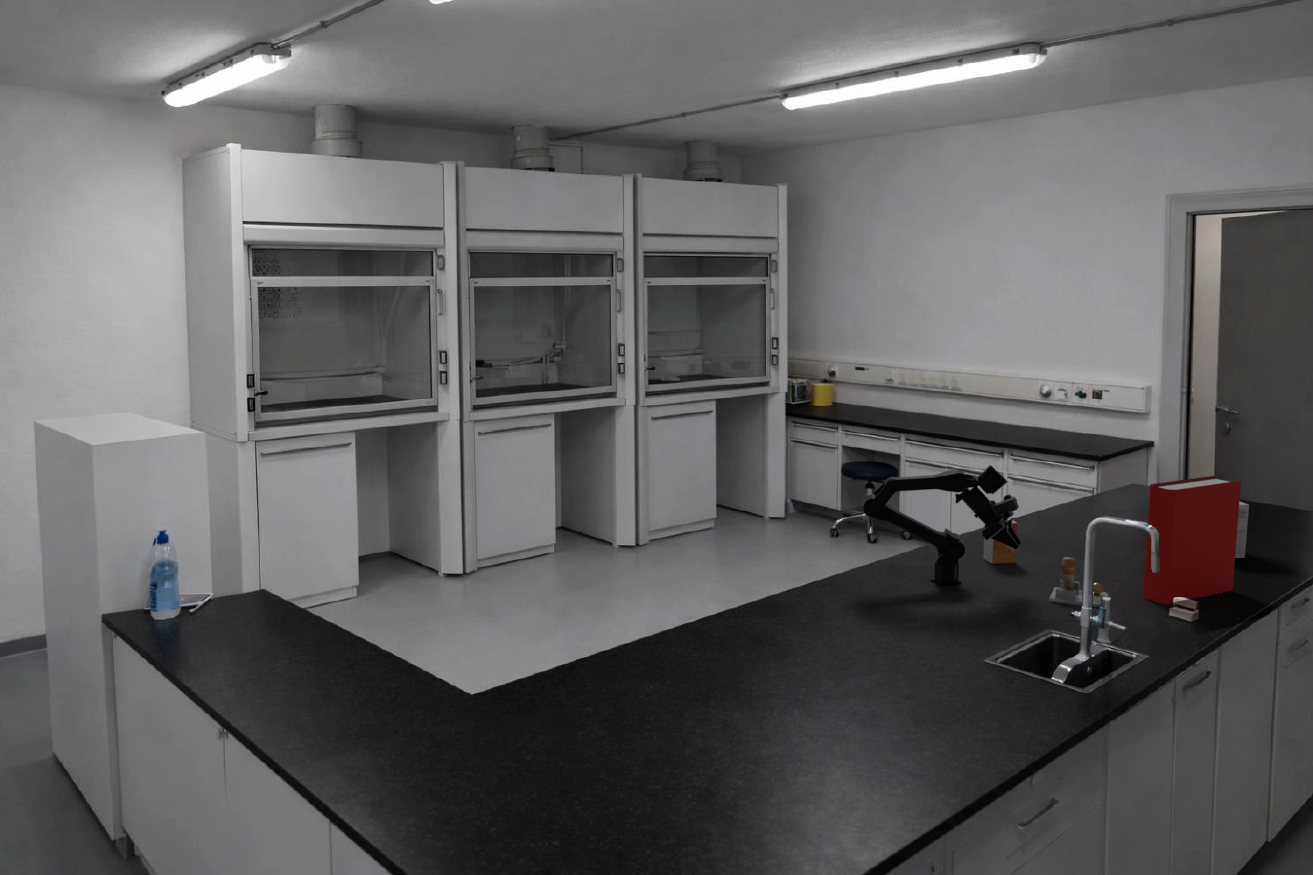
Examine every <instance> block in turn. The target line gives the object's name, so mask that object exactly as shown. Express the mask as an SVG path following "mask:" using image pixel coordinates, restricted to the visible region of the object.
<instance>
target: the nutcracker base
mask: <svg viewBox="0 0 1313 875" xmlns="http://www.w3.org/2000/svg"><path fill="white" fill-rule="evenodd" d="M1080 583H1081V582H1080V581H1077V580H1074V588H1073V589H1071V590H1069V589H1064V588H1062V579H1060V580H1059V587H1058V586H1054V587H1053V590H1052V592H1051V594H1050V596H1049V599H1048V600H1049V602H1050V603H1058V604H1066V605H1067V604H1068V605H1074V606H1081V604H1082V590H1083V589H1082V590H1081V589H1080V585H1081V584H1080ZM1092 584H1093V604H1094V605H1097V606H1098V605H1100V603H1101V598H1102V597H1108V598H1109V593H1107V592H1106V591H1104V586H1103V584H1101V582H1094V583H1092Z"/></svg>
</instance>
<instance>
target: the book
mask: <svg viewBox="0 0 1313 875" xmlns="http://www.w3.org/2000/svg"><path fill="white" fill-rule="evenodd" d="M1241 484H1242V480H1234V481H1228V480H1223V479H1219V478H1217V477H1216V475H1209V476H1208V475H1207V476H1201V477H1195V478H1187V479H1181V480H1173V481H1164V482H1156V483H1151V484H1149V497H1148V498H1149V500H1148V513H1147V514H1148V516H1147V525H1148V524H1150V525H1152V526H1153V527H1155V528H1156V529H1157V531H1158V533H1159V556H1160V571H1159V574H1153V573H1152V569H1151V540H1150V537H1149V535H1148V534H1147V533H1146V544H1145V545H1146V546H1145V558H1144V559H1145V561H1144V575H1143V576H1144V577H1143V578H1144V579H1143V593H1142V594H1143V595H1142V598H1143V599H1145V600H1148V601H1152V602H1155V603H1157V604H1159V605H1161V604H1163V605H1171V604H1174V603H1173V598H1174V597H1187V598H1196V599H1198V598H1197V597H1201V598H1204V597H1208V596H1209V597H1211V596H1214V595H1213V594H1215V595H1219V594H1218V593H1220V594H1224V593H1223V592H1225V593H1228V592H1227V591H1230V592H1232V591H1233V588H1234V587H1233V586H1234V579H1235V578H1234V575H1235V566H1236V565H1235V564H1236V563H1235V562H1236V559H1235V552H1236V540H1237V527H1238V514H1239V502H1241V488H1242V485H1241ZM1231 590H1232V591H1231Z"/></svg>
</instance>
